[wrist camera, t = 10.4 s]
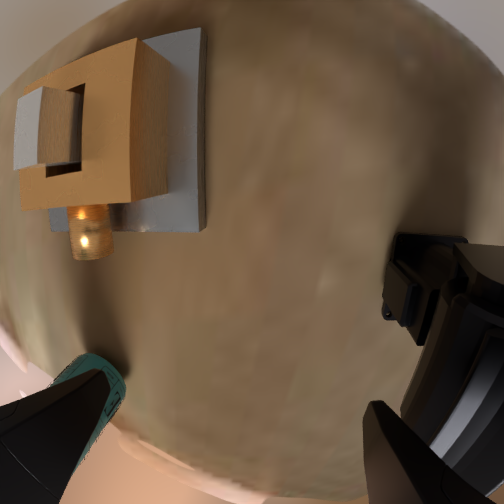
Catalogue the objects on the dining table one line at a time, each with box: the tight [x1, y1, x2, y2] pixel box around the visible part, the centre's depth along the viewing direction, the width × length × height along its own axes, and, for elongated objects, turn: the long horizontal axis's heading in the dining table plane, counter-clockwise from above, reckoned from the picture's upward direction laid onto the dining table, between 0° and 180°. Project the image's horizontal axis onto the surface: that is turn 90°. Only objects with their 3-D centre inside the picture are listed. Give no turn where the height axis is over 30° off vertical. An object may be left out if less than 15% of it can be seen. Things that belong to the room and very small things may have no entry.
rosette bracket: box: [19, 27, 207, 261], centre depth 15 cm, size 14×15×6 cm
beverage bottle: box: [50, 353, 126, 475], centre depth 15 cm, size 6×7×20 cm
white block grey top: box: [14, 86, 84, 170], centre depth 13 cm, size 2×4×9 cm, turn 179°
